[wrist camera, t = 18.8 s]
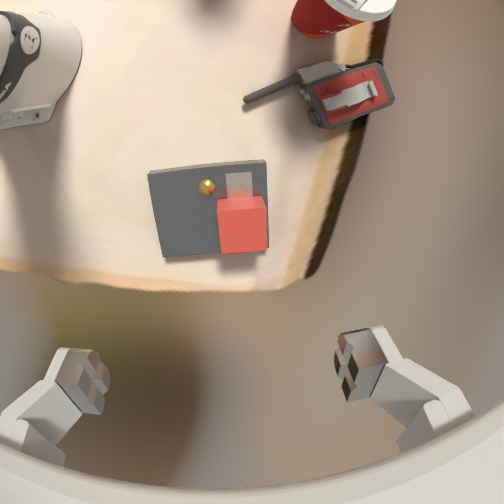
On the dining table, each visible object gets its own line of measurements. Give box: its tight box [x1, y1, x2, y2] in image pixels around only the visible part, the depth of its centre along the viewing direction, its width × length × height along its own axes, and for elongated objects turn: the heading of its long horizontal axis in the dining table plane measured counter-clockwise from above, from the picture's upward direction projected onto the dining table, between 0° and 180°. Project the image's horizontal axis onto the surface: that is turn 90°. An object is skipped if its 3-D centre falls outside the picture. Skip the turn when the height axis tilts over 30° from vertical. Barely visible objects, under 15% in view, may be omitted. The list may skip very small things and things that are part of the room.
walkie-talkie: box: [243, 59, 395, 129], centre depth 31 cm, size 9×4×20 cm
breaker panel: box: [147, 160, 269, 257], centre depth 37 cm, size 15×12×3 cm
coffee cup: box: [292, 0, 396, 38], centre depth 20 cm, size 8×8×15 cm
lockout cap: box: [217, 196, 267, 254], centre depth 36 cm, size 6×6×4 cm
